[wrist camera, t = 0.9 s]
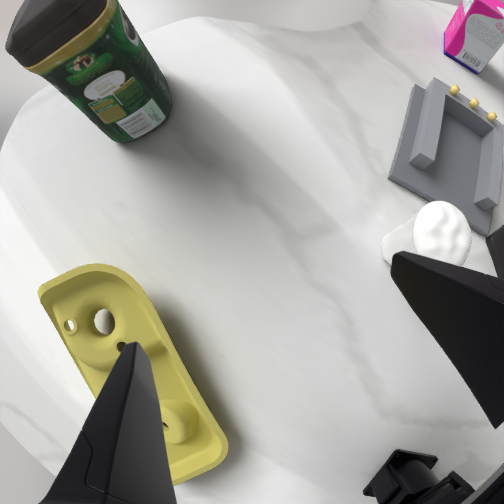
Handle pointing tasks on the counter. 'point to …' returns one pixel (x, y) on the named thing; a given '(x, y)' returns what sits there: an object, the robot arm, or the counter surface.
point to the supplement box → (475, 33)
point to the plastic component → (155, 346)
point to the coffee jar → (93, 63)
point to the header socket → (451, 152)
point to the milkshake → (432, 235)
